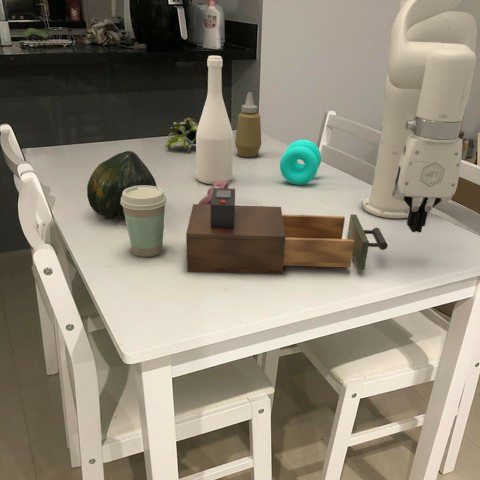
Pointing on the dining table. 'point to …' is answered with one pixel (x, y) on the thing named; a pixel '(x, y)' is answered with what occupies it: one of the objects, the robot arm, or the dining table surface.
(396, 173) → the robot arm
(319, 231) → the drawer
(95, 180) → the squash
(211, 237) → the cabinet
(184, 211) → the dining table surface
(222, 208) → the red button box
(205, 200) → the video game controller
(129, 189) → the coffee cup
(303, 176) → the donuts
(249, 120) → the squeeze bottle
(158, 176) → the dining table surface
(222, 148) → the wine bottle
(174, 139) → the green leafy plant
